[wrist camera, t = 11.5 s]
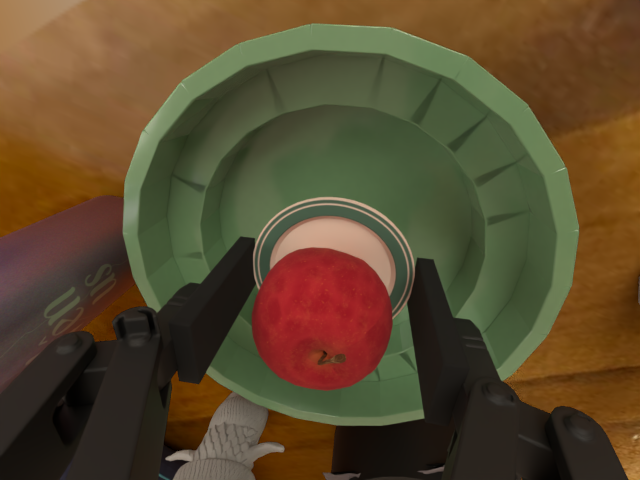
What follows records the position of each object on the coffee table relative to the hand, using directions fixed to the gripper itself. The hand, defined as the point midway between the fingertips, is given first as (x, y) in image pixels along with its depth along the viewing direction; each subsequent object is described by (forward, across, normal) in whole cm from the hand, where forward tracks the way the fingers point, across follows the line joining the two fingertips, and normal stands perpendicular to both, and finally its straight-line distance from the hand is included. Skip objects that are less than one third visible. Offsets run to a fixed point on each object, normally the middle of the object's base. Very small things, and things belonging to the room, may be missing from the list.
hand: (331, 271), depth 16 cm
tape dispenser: (+5, +9, -22) cm, 24 cm away
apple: (0, 0, 0) cm, 0 cm away
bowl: (+5, 0, 0) cm, 5 cm away
